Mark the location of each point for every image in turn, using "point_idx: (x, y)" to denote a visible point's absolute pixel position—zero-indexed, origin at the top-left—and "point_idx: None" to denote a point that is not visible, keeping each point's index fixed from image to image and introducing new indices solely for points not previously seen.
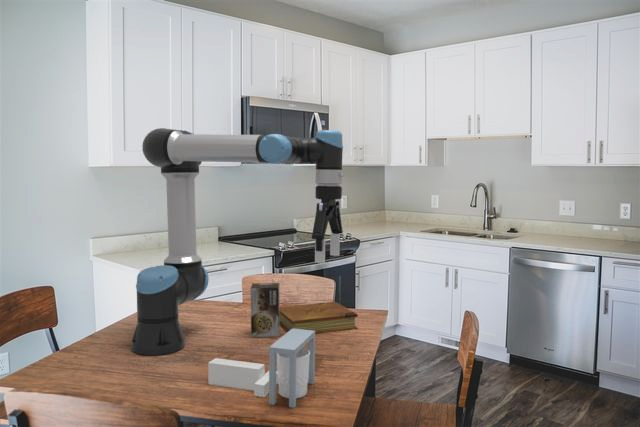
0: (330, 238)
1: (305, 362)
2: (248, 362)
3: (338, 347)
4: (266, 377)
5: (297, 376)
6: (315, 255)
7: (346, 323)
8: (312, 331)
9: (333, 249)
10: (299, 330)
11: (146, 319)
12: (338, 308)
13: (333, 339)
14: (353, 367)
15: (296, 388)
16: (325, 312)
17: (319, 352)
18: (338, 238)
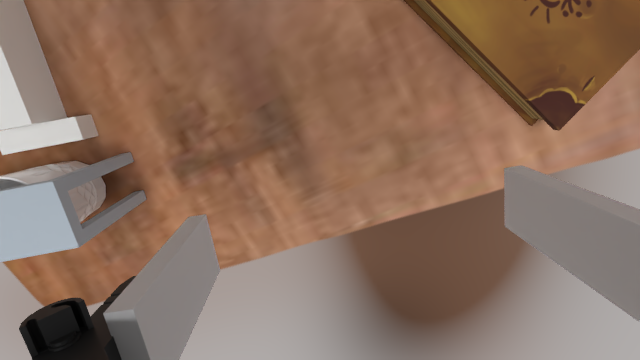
0: (603, 210)
1: None
2: (12, 80)
3: (366, 147)
4: (37, 135)
5: None
6: (173, 239)
7: (523, 102)
8: (68, 244)
9: (530, 205)
10: (50, 209)
11: None
12: (607, 44)
13: (418, 107)
14: (264, 229)
15: None
16: (543, 27)
17: (311, 122)
18: (599, 290)
